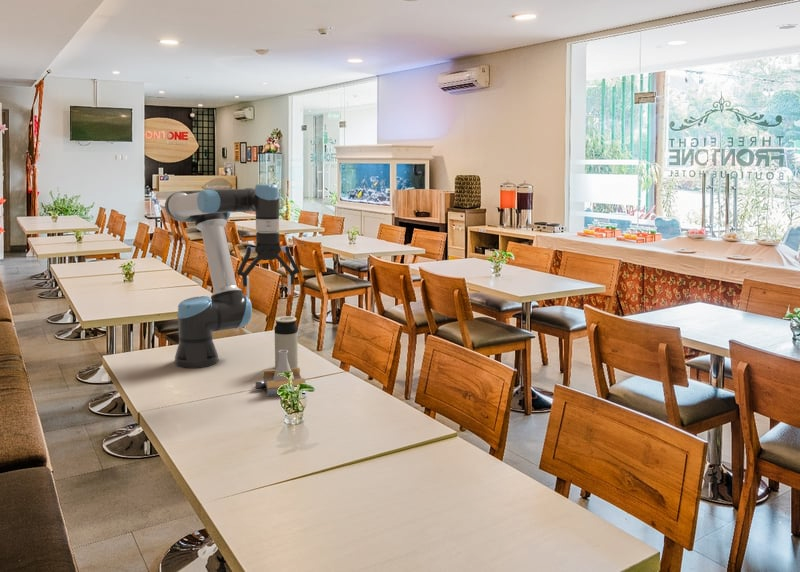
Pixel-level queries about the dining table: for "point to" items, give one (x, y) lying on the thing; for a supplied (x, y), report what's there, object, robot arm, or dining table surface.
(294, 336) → the travel mug
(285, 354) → the flask
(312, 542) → the dining table surface
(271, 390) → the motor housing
